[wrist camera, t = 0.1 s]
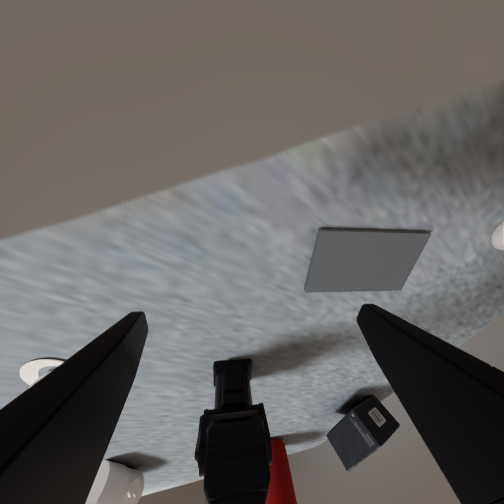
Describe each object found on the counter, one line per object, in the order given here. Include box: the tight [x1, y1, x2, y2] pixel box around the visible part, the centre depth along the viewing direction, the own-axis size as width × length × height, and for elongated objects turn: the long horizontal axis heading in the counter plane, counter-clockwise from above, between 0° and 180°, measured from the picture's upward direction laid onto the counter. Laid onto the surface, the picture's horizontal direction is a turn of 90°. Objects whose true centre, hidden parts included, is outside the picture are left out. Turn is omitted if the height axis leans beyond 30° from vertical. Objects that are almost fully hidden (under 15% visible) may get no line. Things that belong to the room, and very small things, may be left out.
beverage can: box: [265, 438, 297, 504], centre depth 43 cm, size 7×7×12 cm
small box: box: [326, 395, 400, 472], centre depth 41 cm, size 11×6×10 cm
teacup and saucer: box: [20, 359, 65, 389], centre depth 26 cm, size 9×8×4 cm
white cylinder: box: [85, 460, 144, 504], centre depth 40 cm, size 12×9×8 cm
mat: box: [304, 228, 431, 292], centre depth 25 cm, size 9×15×1 cm, turn 86°
